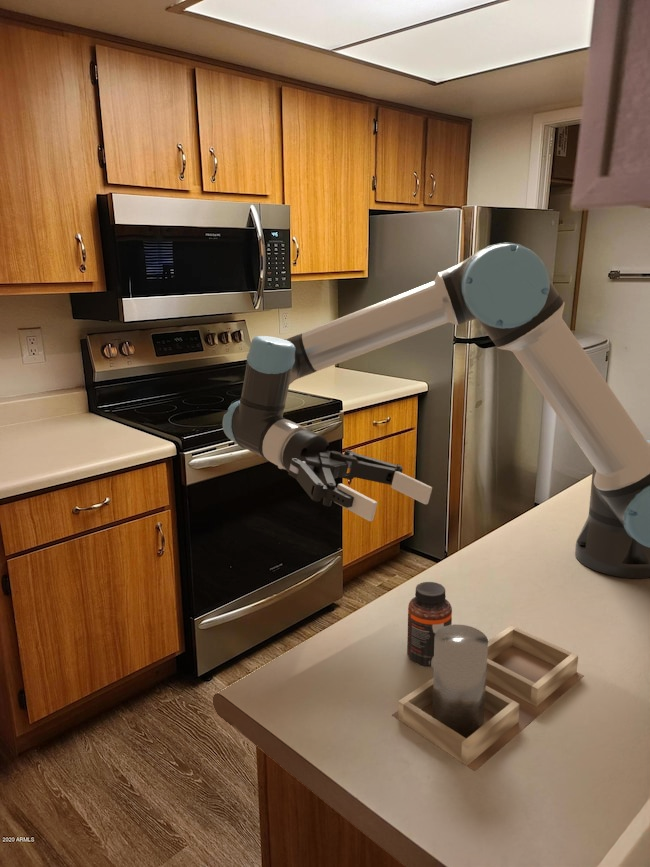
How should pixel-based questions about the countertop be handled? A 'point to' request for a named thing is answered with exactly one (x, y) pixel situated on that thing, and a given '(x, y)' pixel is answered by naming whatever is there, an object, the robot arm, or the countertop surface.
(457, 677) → the billet
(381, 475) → the robot arm
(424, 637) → the supplement bottle
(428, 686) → the wooden divided tray
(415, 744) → the countertop surface
